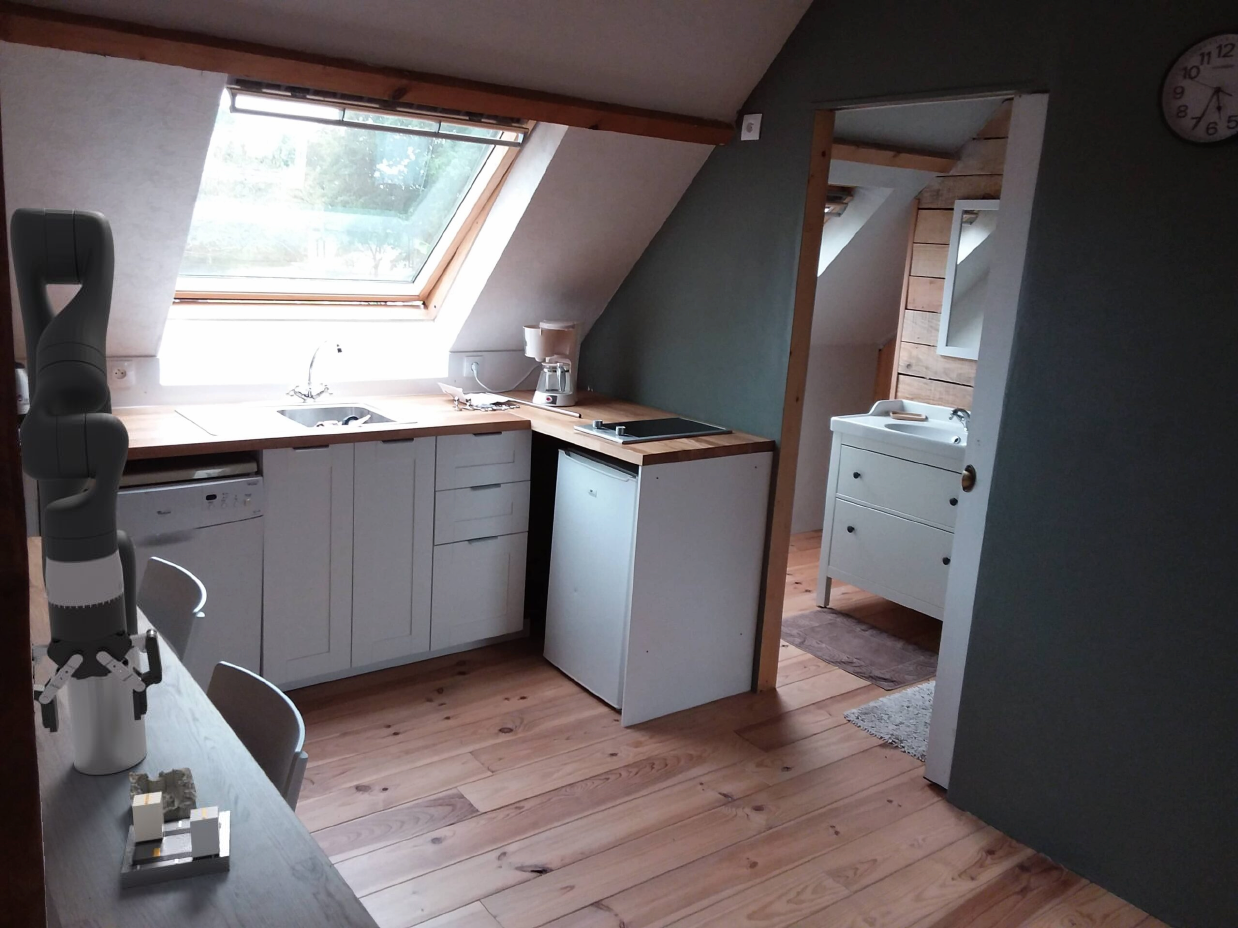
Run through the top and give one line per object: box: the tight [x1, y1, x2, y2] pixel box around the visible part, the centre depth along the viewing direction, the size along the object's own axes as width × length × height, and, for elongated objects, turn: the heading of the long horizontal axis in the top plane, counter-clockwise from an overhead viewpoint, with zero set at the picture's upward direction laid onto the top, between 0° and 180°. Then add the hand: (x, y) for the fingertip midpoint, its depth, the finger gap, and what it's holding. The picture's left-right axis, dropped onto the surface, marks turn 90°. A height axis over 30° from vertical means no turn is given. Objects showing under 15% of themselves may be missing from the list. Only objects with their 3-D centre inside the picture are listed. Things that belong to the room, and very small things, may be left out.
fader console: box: [120, 810, 232, 889], centre depth 120 cm, size 10×12×2 cm
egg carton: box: [128, 767, 198, 820], centre depth 128 cm, size 11×8×4 cm
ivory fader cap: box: [131, 792, 164, 842], centre depth 120 cm, size 2×3×5 cm
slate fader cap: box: [190, 805, 220, 858], centre depth 117 cm, size 2×3×5 cm
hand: (96, 723), depth 114 cm, fingers open, 8 cm apart
